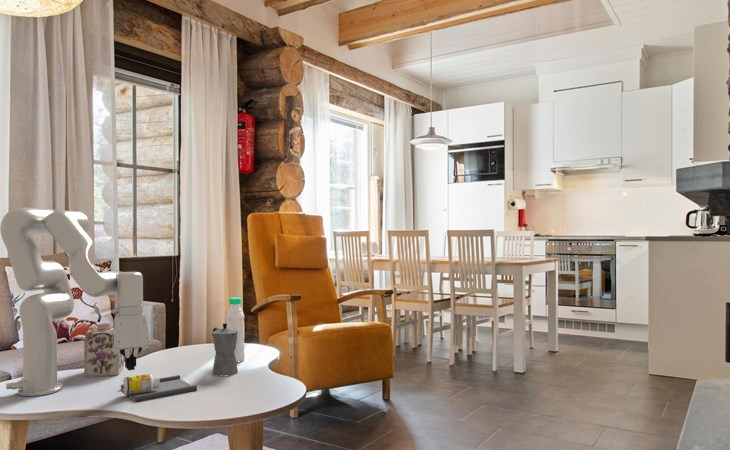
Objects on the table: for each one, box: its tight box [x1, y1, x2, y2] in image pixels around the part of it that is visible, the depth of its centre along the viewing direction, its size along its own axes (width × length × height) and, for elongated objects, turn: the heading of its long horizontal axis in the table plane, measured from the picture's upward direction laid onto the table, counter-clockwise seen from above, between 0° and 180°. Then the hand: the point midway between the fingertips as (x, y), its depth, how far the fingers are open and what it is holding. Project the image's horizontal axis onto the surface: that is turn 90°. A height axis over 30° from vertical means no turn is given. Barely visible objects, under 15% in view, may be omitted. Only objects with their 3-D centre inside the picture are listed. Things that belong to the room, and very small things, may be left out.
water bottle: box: [225, 297, 246, 363], centre depth 217 cm, size 7×7×25 cm
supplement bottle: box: [123, 373, 160, 396], centre depth 173 cm, size 6×6×10 cm
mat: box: [120, 374, 198, 403], centre depth 178 cm, size 19×17×2 cm
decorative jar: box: [83, 322, 125, 378], centre depth 201 cm, size 12×12×18 cm
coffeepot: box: [211, 322, 239, 376], centre depth 200 cm, size 15×9×18 cm, turn 44°
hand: (130, 369), depth 172 cm, fingers closed
